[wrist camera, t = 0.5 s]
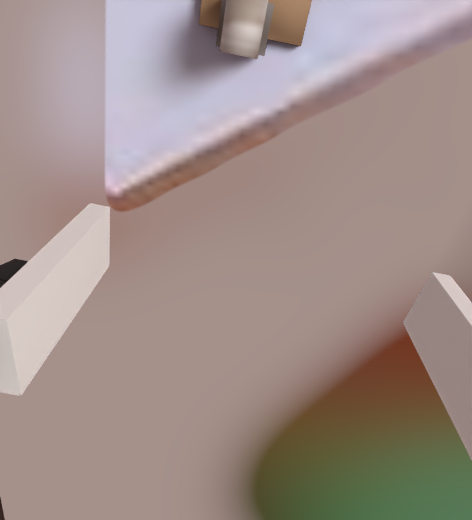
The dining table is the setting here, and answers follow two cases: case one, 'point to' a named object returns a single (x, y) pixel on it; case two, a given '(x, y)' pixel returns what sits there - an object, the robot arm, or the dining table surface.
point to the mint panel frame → (255, 23)
